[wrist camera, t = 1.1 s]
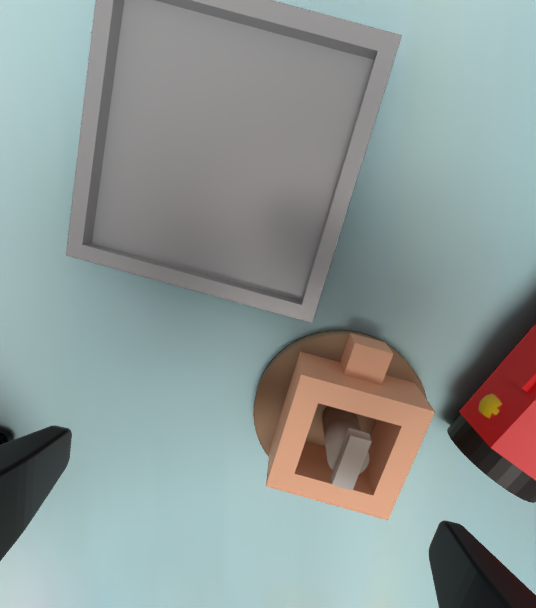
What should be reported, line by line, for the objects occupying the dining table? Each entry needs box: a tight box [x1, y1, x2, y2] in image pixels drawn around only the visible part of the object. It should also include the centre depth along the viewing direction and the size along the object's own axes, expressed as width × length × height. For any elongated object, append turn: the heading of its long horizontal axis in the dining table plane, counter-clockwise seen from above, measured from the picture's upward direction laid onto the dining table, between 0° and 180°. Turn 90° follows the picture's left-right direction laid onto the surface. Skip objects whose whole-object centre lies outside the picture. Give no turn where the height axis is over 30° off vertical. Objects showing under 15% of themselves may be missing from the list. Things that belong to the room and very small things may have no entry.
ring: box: [266, 333, 435, 520], centre depth 19 cm, size 8×7×3 cm
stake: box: [254, 330, 427, 491], centre depth 19 cm, size 10×10×5 cm
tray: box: [66, 0, 402, 323], centre depth 18 cm, size 14×14×2 cm
